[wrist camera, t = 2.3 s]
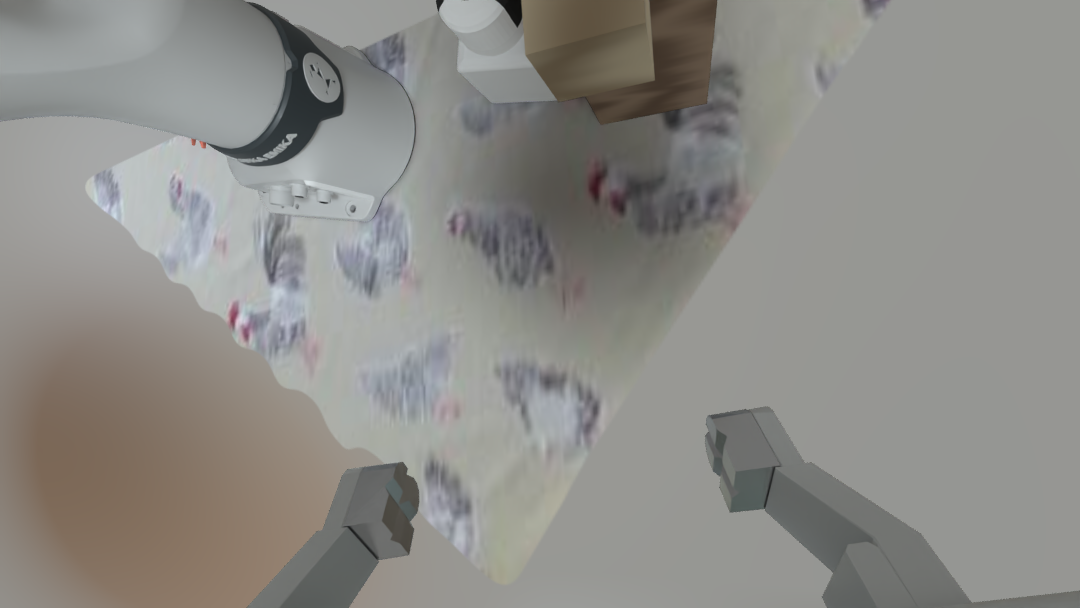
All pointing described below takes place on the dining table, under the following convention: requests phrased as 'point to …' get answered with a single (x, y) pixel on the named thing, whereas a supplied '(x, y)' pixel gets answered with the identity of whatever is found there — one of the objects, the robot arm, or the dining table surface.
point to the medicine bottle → (494, 49)
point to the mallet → (588, 44)
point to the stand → (668, 64)
